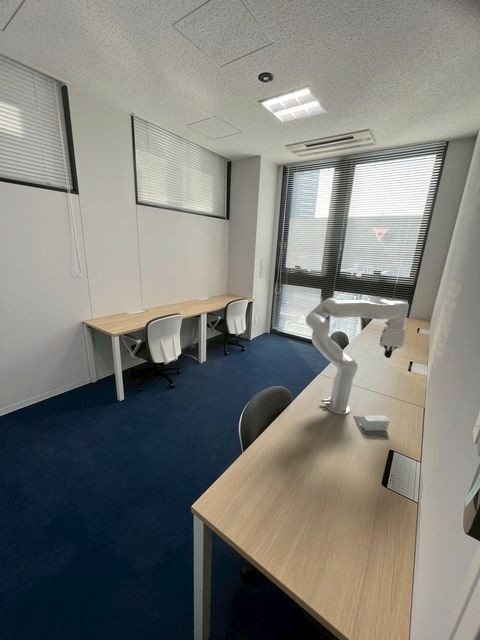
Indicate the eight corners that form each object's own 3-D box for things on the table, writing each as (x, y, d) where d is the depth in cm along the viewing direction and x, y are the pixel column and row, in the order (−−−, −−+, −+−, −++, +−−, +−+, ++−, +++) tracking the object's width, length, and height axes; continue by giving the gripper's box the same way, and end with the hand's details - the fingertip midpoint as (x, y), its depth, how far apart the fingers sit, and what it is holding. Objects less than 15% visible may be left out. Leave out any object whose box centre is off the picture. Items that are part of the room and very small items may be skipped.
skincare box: (385, 415, 133) (362, 414, 132) (390, 421, 129) (367, 420, 128) (382, 425, 135) (360, 424, 134) (387, 431, 131) (364, 430, 130)
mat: (361, 433, 129) (361, 432, 128) (353, 416, 141) (353, 415, 141) (386, 436, 128) (387, 435, 127) (376, 419, 140) (376, 418, 140)
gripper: (383, 325, 133) (375, 358, 138) (414, 328, 132) (405, 361, 137) (377, 321, 140) (370, 352, 146) (406, 324, 139) (398, 355, 144)
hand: (387, 356), depth 141 cm, fingers closed
